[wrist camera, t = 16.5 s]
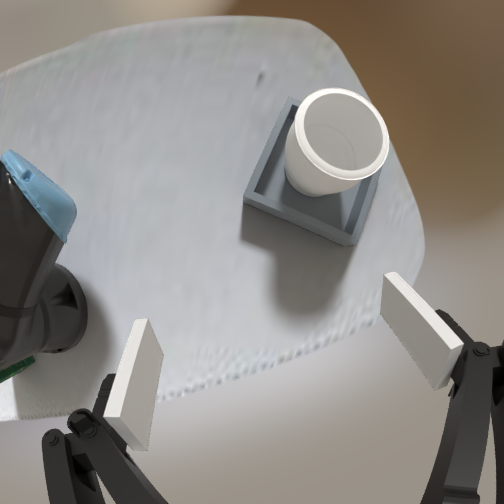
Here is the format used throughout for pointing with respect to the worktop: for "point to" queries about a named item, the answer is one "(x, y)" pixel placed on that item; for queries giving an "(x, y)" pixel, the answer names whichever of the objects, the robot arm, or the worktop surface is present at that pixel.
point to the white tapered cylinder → (334, 142)
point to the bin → (301, 206)
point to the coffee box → (15, 368)
